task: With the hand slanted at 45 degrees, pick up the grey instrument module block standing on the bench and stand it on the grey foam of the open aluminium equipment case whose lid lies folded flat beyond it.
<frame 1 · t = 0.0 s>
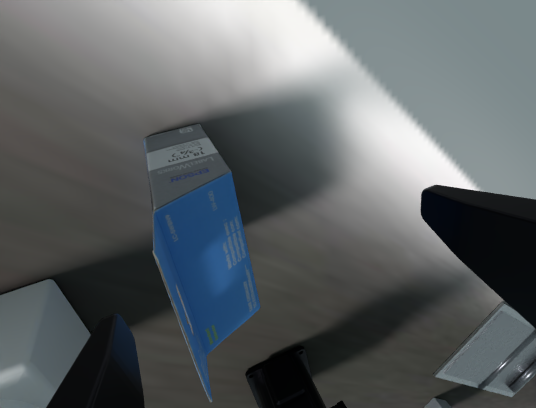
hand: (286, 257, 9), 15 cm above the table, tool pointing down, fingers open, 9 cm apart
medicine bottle: (25, 328, 24), on the table
label tape cartridge: (188, 189, 24), on the table
case: (487, 347, 51), on the table
module: (431, 407, 54), on the table
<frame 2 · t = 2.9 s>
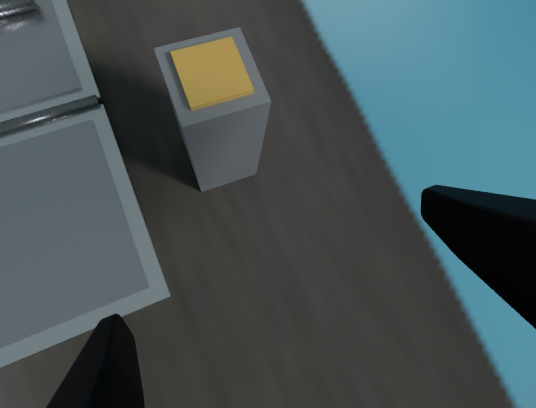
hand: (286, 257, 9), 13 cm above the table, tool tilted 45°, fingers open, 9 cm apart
case: (26, 235, 22), on the table
module: (219, 157, 24), on the table
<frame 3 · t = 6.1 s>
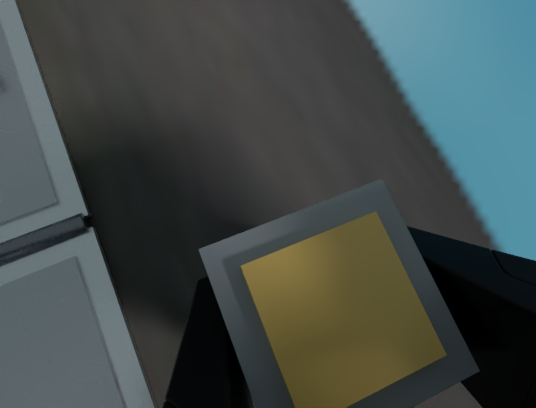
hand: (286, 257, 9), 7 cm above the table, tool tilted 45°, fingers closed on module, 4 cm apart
module: (276, 302, 15), on the table, touching gripper
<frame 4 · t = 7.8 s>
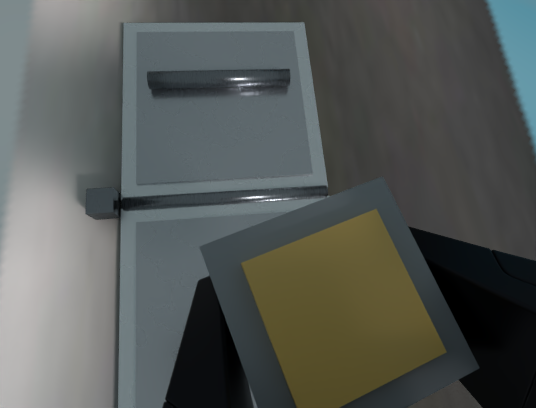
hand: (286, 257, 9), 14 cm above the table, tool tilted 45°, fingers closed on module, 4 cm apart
case: (236, 309, 22), on the table
module: (276, 301, 15), point 7 cm above the table, touching gripper
when the fingers open (8 cm above the table, at t = 9.6 s): module stays where it is, resting on case.
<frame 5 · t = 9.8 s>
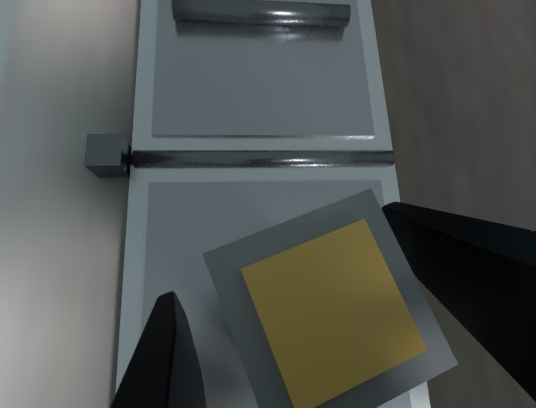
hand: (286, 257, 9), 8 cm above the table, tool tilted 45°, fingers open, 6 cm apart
case: (273, 302, 17), on the table
module: (274, 302, 16), point 1 cm above the table, touching case
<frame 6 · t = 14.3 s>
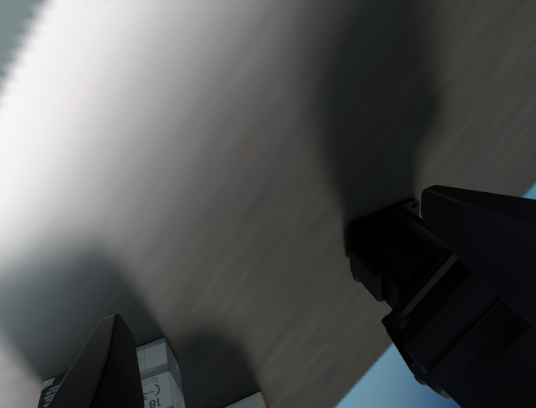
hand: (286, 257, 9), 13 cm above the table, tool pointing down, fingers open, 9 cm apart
label tape cartridge: (115, 368, 27), on the table
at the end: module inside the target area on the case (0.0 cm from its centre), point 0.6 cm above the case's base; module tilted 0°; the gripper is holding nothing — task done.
